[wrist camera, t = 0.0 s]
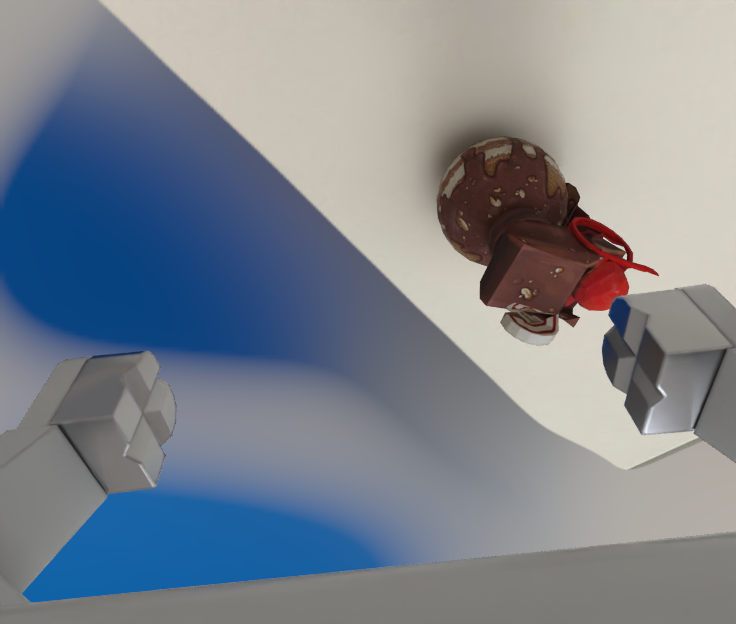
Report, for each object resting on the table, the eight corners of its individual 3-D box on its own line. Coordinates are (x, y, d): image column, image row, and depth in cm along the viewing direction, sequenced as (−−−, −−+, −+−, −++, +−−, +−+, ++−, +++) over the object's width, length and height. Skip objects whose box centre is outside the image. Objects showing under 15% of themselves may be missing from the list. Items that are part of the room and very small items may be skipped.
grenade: (582, 142, 36) (703, 257, 24) (529, 243, 41) (609, 382, 29) (453, 106, 34) (515, 210, 22) (413, 216, 39) (447, 352, 27)
